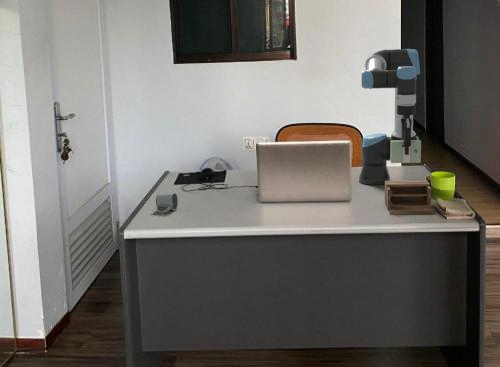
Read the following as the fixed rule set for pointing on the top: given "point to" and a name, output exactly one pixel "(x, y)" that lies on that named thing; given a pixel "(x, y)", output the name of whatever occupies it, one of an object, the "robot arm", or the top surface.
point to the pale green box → (397, 151)
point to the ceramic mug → (166, 202)
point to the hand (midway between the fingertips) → (405, 161)
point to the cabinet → (408, 197)
